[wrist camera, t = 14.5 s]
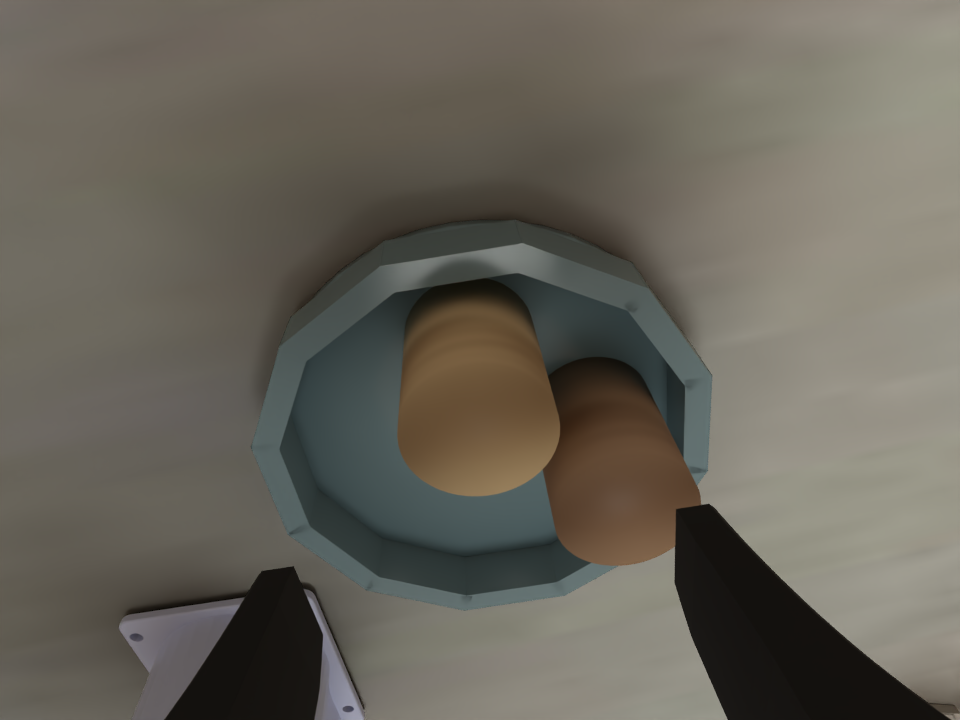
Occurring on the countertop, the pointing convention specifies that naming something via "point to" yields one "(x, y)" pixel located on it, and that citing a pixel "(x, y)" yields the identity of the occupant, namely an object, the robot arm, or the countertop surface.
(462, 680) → the countertop surface
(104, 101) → the countertop surface
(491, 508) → the ring dish
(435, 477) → the oak bead
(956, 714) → the skyscraper
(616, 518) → the walnut bead
